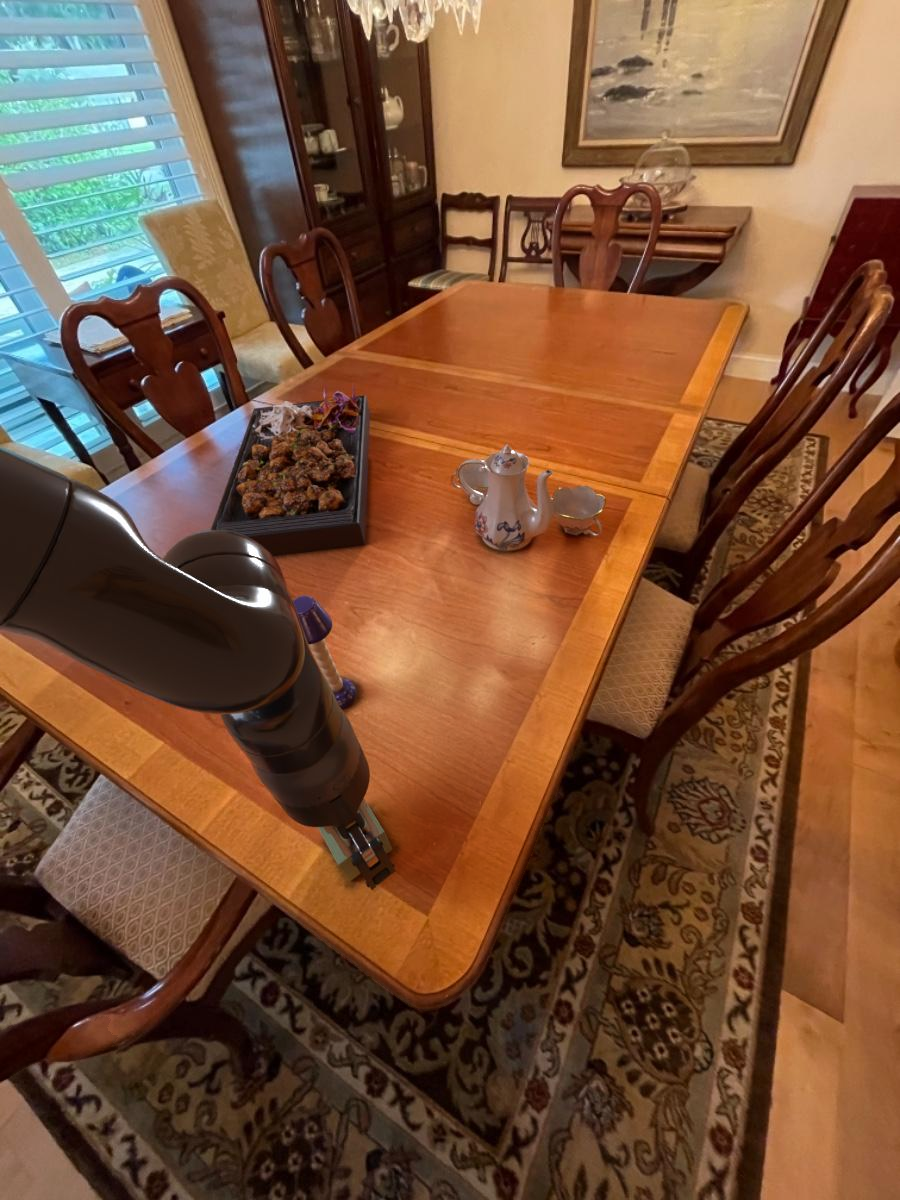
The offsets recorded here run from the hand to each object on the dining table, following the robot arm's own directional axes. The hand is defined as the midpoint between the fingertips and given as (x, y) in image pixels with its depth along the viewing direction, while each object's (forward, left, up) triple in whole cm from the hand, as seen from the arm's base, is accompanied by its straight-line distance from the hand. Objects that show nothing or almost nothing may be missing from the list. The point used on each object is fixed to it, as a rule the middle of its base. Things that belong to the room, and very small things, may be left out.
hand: (356, 833), depth 53 cm
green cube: (0, 0, -3) cm, 3 cm away
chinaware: (+46, +29, -3) cm, 54 cm away
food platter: (+25, +67, -3) cm, 71 cm away
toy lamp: (+7, +18, -3) cm, 19 cm away
